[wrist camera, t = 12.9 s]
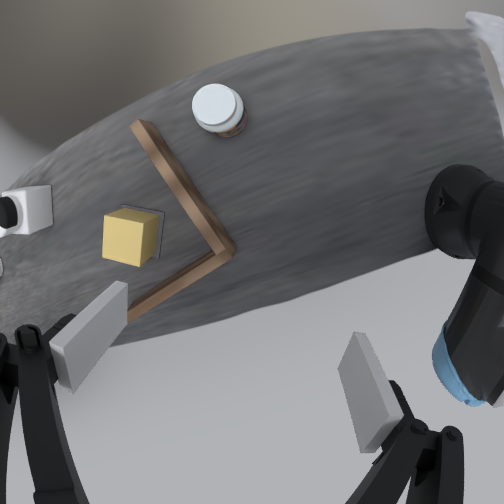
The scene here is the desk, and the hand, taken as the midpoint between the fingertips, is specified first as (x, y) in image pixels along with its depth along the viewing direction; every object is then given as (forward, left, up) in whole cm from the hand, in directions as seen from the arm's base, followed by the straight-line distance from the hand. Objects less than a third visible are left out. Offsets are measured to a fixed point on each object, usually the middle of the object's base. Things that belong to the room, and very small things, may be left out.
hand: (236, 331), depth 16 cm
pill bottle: (+15, -5, -27) cm, 31 cm away
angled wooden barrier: (+10, +14, -27) cm, 32 cm away
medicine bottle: (+25, +30, -27) cm, 47 cm away
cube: (+9, +15, -26) cm, 32 cm away
